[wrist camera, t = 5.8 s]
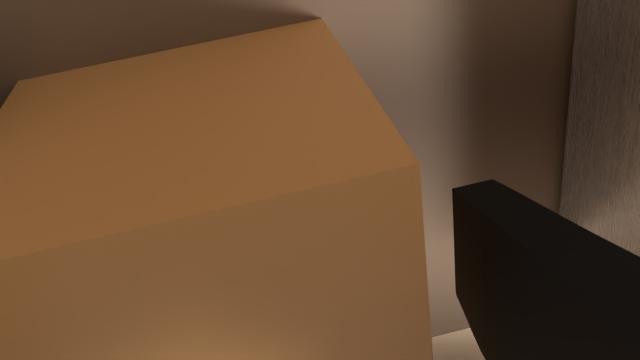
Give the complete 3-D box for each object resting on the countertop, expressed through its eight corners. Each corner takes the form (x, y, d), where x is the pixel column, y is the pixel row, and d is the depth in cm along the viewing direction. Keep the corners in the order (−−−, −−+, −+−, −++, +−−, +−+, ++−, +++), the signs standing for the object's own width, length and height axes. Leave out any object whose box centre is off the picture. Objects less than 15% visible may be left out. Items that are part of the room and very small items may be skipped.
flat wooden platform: (757, 210, 17) (903, 309, 13) (24, 391, 15) (-23, 557, 12) (908, -288, 11) (1237, -336, 7) (-272, -79, 9) (-541, -18, 6)
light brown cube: (356, 249, 13) (439, 463, 8) (119, 306, 12) (83, 561, 8) (321, 18, 10) (419, 163, 6) (18, 80, 10) (-112, 285, 5)
